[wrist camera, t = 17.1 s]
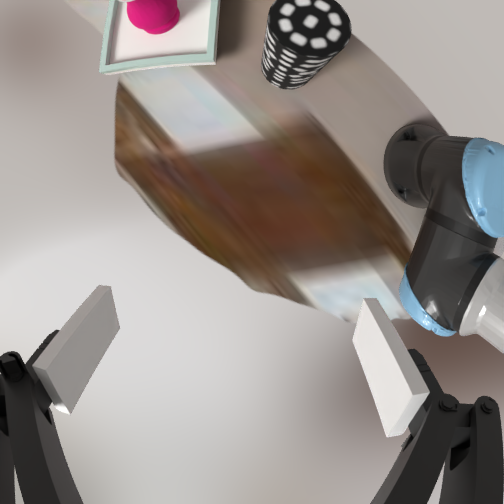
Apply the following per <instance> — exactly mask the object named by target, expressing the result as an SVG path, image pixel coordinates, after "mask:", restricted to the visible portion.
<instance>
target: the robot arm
mask: <svg viewBox="0 0 504 504" xmlns="http://www.w3.org/2000/svg"><path fill="white" fill-rule="evenodd" d="M384 173H385V177H386V181H387V183H388V185H389V187H390V189H391V191H392V192H393V193H394V195H395V196H396V197H397V198H398V199H400V200H401V201H403V202H404V203H406V204H408V205H411V206H413V207H417V208H427V211H426V214H425V216H424V219H423V222H422V225H421V228H420V231H419V234H418V237H417V240H416V243H415V245H414V248H413V251H412V253H411V256H410V259H409V261H408V263H407V264H406V266H405V269H404V275H403V278H402V281H401V283H400V287H399V293H400V300H401V302H402V304H403V306H404V308H405V310H406V311H407V312H408V313H409V315H410V316H411V317H412V318H413V319H414V320H415V321H416V322H417V323H419V324H420V325H421V326H423V327H424V328H426V329H427V330H432V331H434V333H435V334H438V335H441V336H450V335H453V334H454V333H456V332H458V333H459V334H460V335H462V336H466V335H470V334H474V333H476V334H479V335H480V336H482V337H483V338H485V339H486V340H487V341H488V342H489V343H491V344H492V345H494V346H495V347H496V348H497V349H499V350H500V351H501V352H502V353H503V354H504V260H503V259H502V258H501V257H499V256H497V255H496V254H494V253H493V251H494V248H495V245H496V242H497V239H498V238H499V237H504V145H502V144H500V143H497V142H493V141H489V140H487V139H484V138H468V137H457V136H446V135H445V134H443V133H442V132H440V131H439V130H437V129H435V128H433V127H431V126H428V125H423V124H413V125H408V126H405V127H403V128H401V129H400V130H398V131H397V132H396V133H395V134H394V135H393V136H392V138H391V139H390V141H389V143H388V145H387V147H386V150H385V155H384ZM119 329H120V326H119V322H118V318H117V314H116V309H115V304H114V300H113V295H112V290H111V287H110V286H101V285H99V286H98V287H97V288H96V289H95V290H94V291H93V292H92V293H91V295H90V296H89V297H88V298H87V299H86V300H85V301H84V302H83V304H82V305H81V306H80V307H79V308H78V309H77V311H76V312H75V313H74V314H73V315H72V316H71V318H70V319H69V320H68V321H67V322H66V324H65V325H64V326H63V327H62V329H61V330H55V331H54V332H52V333H51V334H49V335H48V336H47V338H46V339H45V340H44V341H43V343H42V344H41V345H40V346H39V349H37V350H36V351H35V352H34V354H33V355H32V356H31V357H30V359H29V360H28V361H27V363H26V364H24V362H23V360H22V358H21V356H20V354H19V353H17V352H14V351H11V352H7V353H4V354H3V355H2V356H0V373H1V374H0V504H15V487H14V486H15V485H14V465H15V469H16V474H17V478H18V483H19V486H20V490H21V493H22V497H23V501H24V504H83V502H82V499H81V497H80V495H79V492H78V490H77V488H76V485H75V483H74V480H73V478H72V475H71V473H70V470H69V467H68V464H67V462H66V459H65V456H64V453H63V450H62V447H61V444H60V441H59V437H58V434H57V430H56V427H55V423H54V419H53V415H52V412H51V410H50V408H49V406H50V404H51V403H52V402H53V404H54V406H55V407H56V408H57V410H58V411H61V412H64V413H67V414H71V413H72V411H73V409H74V407H75V405H76V403H77V401H78V399H79V398H80V396H81V394H82V392H83V391H84V389H85V387H86V385H87V383H88V382H89V379H90V378H91V376H92V374H93V373H94V371H95V369H96V367H97V366H98V364H99V362H100V360H101V359H102V357H103V355H104V354H105V352H106V350H107V348H108V347H109V345H110V344H111V342H112V340H113V339H114V337H115V335H116V334H117V332H118V330H119ZM352 341H353V343H354V346H355V348H356V351H357V354H358V356H359V359H360V362H361V364H362V367H363V370H364V373H365V375H366V378H367V381H368V384H369V386H370V389H371V392H372V395H373V398H374V401H375V404H376V407H377V410H378V412H379V415H380V418H381V421H382V425H383V428H384V430H385V434H386V437H391V436H397V435H402V434H403V433H404V432H405V430H406V429H407V427H409V430H410V432H411V434H410V435H409V437H408V438H407V439H406V440H405V442H404V443H403V444H402V447H403V448H402V450H401V452H400V454H399V456H398V458H397V460H396V462H395V463H394V465H393V467H392V469H391V471H390V472H389V474H388V476H387V478H386V479H385V481H384V483H383V484H382V486H381V488H380V489H379V491H378V493H377V494H376V496H375V497H374V499H373V500H372V502H371V503H370V504H427V502H428V500H429V498H430V496H431V494H432V491H433V489H434V487H435V484H436V482H437V480H438V477H439V474H440V472H441V469H442V467H443V464H444V462H445V466H444V475H443V482H442V489H441V495H440V501H439V504H503V492H504V459H503V441H502V429H501V420H500V412H499V407H498V404H497V403H496V401H495V400H494V399H492V398H491V397H488V396H481V397H479V398H478V399H477V400H476V402H475V403H474V404H460V403H459V401H458V400H457V399H456V398H455V397H453V396H452V395H450V394H444V392H443V391H442V389H441V387H440V385H439V383H438V382H437V380H436V378H435V376H434V374H433V373H432V371H431V369H430V367H429V366H428V365H427V362H426V361H425V359H424V357H423V356H422V355H421V354H420V353H419V352H418V351H417V350H415V349H409V350H407V349H406V347H405V345H404V343H403V342H402V340H401V338H400V336H399V335H398V333H397V331H396V329H395V328H394V326H393V324H392V323H391V321H390V319H389V318H388V316H387V314H386V313H385V311H384V309H383V308H382V306H381V304H380V303H379V301H378V300H377V298H363V302H362V306H361V310H360V314H359V318H358V322H357V325H356V329H355V333H354V336H353V340H352Z"/></svg>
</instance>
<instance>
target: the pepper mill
mask: <svg viewBox="0 0 504 504" xmlns="http://www.w3.org/2000/svg"><path fill="white" fill-rule="evenodd" d="M118 1H121V2H126V3H127V15H128V18H129V20H130V22H131V23H132V24H133V25H134V26H135V27H137V28H139V29H143V30H144V31H146V32H147V33H149V34H154V35H158V34H162V33H165V32H167V31H169V30H171V29H172V28H173V27H174V26H175V25H176V24H177V22H178V20H179V17H180V11H179V9H178V7H177V0H118Z"/></svg>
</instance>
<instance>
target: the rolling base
mask: <svg viewBox="0 0 504 504" xmlns="http://www.w3.org/2000/svg"><path fill="white" fill-rule="evenodd" d="M220 1H221V0H177V7H178V9H179V11H180V17H179V20H178V22H177V24H176V25H175V26H174V27H173V28H172V29H171V30H169V31H167V32H165V33H162V34H158V35H154V34H149V33H147V32H146V31H144V30H143V29H139V28H137V27H135V26H134V25H133V24H132V23H131V22H130V20H129V18H128V15H127V3H126V2H121V1H118V0H110V2H109V7H108V12H107V17H106V23H105V29H104V36H103V43H102V52H101V60H100V70H99V72H100V73H103V74H105V75H112V74H118V73H124V72H131V71H138V70H145V69H154V68H164V67H175V66H190V65H216V53H217V38H218V24H219V12H220Z"/></svg>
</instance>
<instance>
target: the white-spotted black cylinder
mask: <svg viewBox="0 0 504 504" xmlns="http://www.w3.org/2000/svg"><path fill="white" fill-rule="evenodd" d="M350 36H351V23H350V19H349V17H348V15H347V13H346V12H345V10H344V9H343V8H342V7H341V5H340V4H338V3H337V2H336V1H335V0H276V1H275V2H274V3H273V4H272V6H271V8H270V10H269V14H268V20H267V27H266V34H265V41H264V48H263V55H262V62H261V67H262V72H263V74H264V76H265V78H266V79H267V80H268V81H269V82H270V83H271V84H273V85H274V86H276V87H279V88H282V89H296V88H299V87H301V86H303V85H304V84H306V83H307V82H308V81H309V80H310V79H311V78H312V77H313V76H314V75H315V74H316V73H317V72H318V71H319V70H320V69H322V68H323V67H324V66H325V65H326V64H327V63H328V62H329V61H330V60H331V59H332V58H333V57H334V56H335V55H337V54H338V53H339V52H340V51H341V50H342V49H343V48H344V47H345V46H346V45H347V43H348V41H349V39H350Z"/></svg>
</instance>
